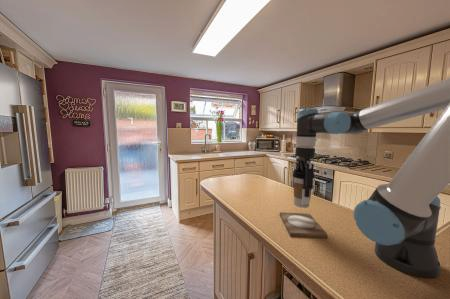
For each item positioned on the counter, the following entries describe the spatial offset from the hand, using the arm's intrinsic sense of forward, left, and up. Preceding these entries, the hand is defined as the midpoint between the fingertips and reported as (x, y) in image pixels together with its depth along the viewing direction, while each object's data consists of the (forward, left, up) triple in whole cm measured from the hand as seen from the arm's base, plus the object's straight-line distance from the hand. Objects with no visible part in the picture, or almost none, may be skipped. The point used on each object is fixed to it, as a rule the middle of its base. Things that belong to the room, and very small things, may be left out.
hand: (301, 200), depth 81 cm
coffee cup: (0, 0, -2) cm, 2 cm away
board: (0, 0, -11) cm, 11 cm away
